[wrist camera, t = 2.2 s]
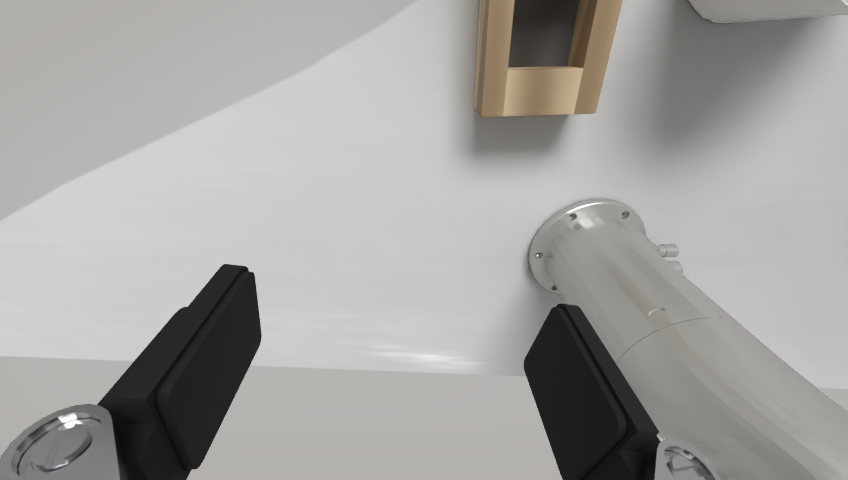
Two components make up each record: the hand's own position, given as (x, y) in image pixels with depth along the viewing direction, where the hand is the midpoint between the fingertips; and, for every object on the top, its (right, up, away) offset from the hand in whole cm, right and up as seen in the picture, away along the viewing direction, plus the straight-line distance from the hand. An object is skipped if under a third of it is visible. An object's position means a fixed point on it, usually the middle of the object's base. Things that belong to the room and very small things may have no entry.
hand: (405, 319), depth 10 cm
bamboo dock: (+9, +20, +15) cm, 27 cm away
